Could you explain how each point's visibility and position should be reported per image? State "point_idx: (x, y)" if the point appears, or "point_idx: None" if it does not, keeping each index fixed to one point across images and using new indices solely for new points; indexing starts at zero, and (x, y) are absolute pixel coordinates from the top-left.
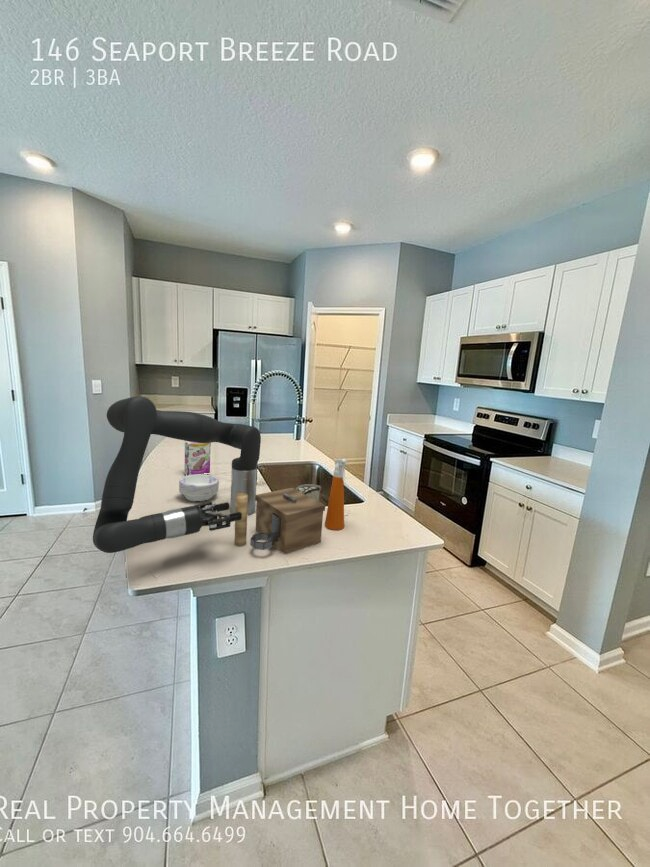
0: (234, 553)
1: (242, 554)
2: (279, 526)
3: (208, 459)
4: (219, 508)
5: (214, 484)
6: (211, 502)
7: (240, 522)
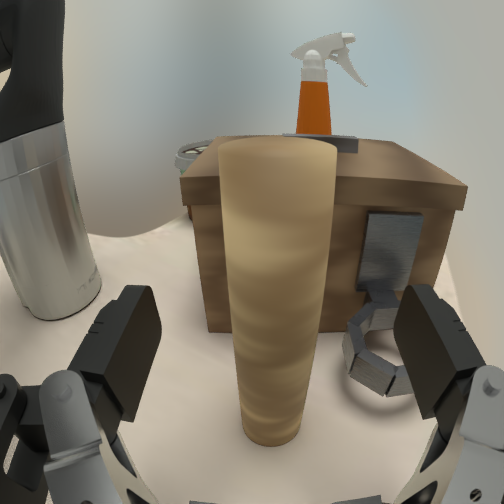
0: (348, 475)
1: (373, 447)
2: (415, 249)
3: None
4: (126, 387)
5: None
6: (7, 380)
7: (311, 354)
